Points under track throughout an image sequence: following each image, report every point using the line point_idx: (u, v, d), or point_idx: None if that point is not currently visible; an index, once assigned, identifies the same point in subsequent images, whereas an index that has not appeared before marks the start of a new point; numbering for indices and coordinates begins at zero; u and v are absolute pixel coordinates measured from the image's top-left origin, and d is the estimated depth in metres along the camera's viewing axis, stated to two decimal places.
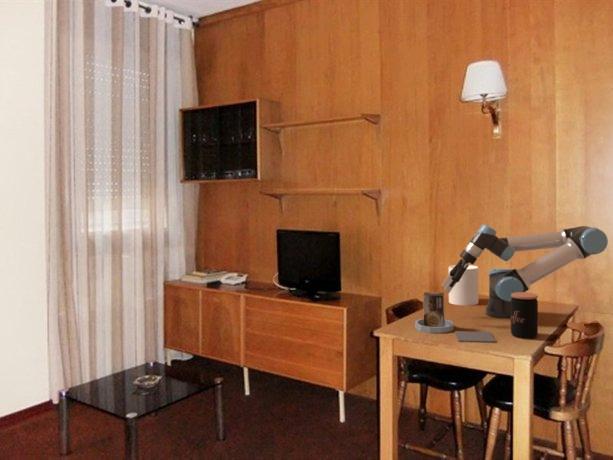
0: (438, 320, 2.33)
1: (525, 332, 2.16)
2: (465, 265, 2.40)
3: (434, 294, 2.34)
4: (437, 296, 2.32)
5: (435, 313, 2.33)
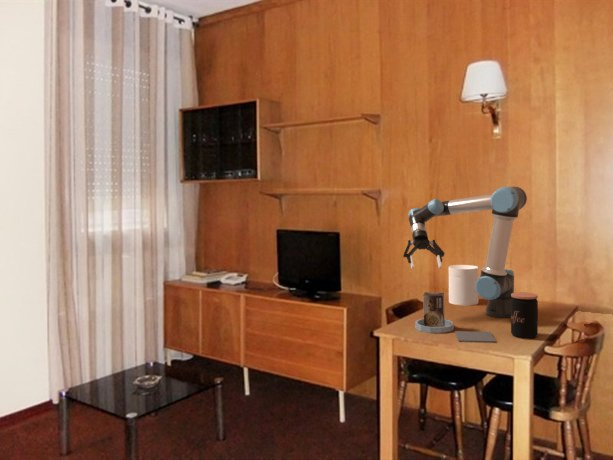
0: (438, 320, 2.33)
1: (525, 332, 2.16)
2: None
3: (434, 294, 2.34)
4: (437, 296, 2.32)
5: (435, 313, 2.33)
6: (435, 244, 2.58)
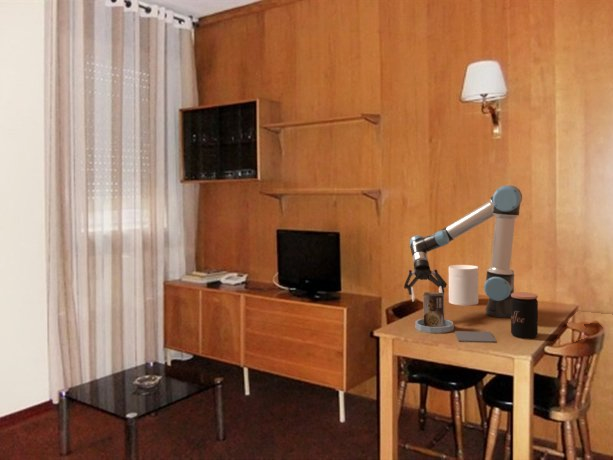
0: (438, 320, 2.33)
1: (525, 332, 2.16)
2: None
3: (434, 294, 2.34)
4: (437, 296, 2.32)
5: (435, 313, 2.33)
6: (437, 274, 2.49)
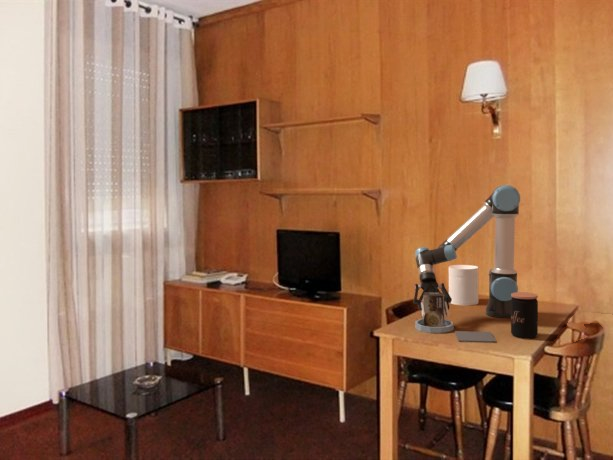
0: (438, 320, 2.33)
1: (525, 332, 2.16)
2: (415, 287, 2.44)
3: (434, 294, 2.34)
4: (437, 296, 2.32)
5: (435, 313, 2.33)
6: (443, 288, 2.42)
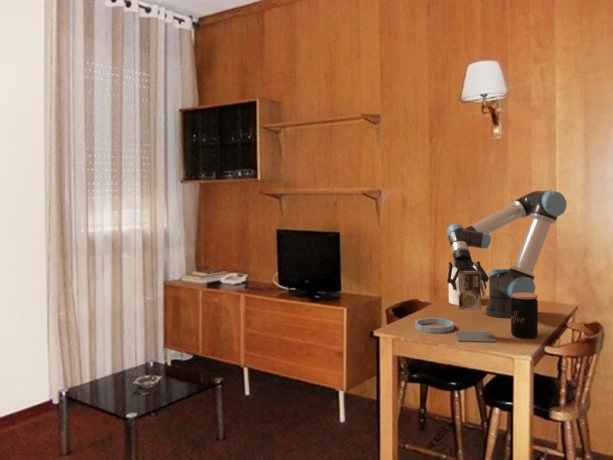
0: (475, 300, 2.17)
1: (525, 332, 2.16)
2: (448, 265, 2.28)
3: (470, 272, 2.18)
4: (473, 274, 2.16)
5: (472, 293, 2.17)
6: (479, 267, 2.25)
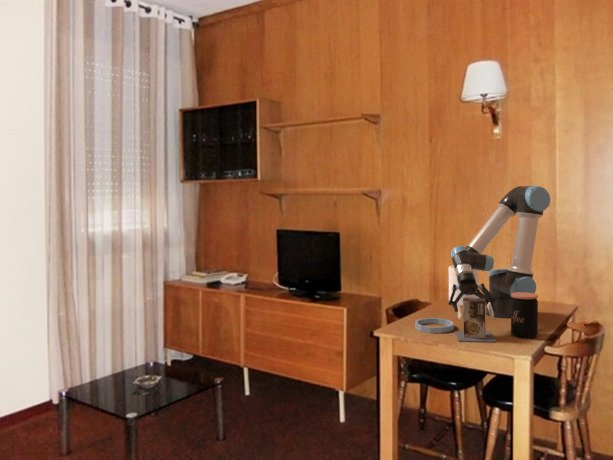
0: (480, 327, 2.16)
1: (525, 332, 2.16)
2: (452, 287, 2.28)
3: (475, 299, 2.18)
4: (478, 302, 2.16)
5: (476, 320, 2.17)
6: (484, 289, 2.25)
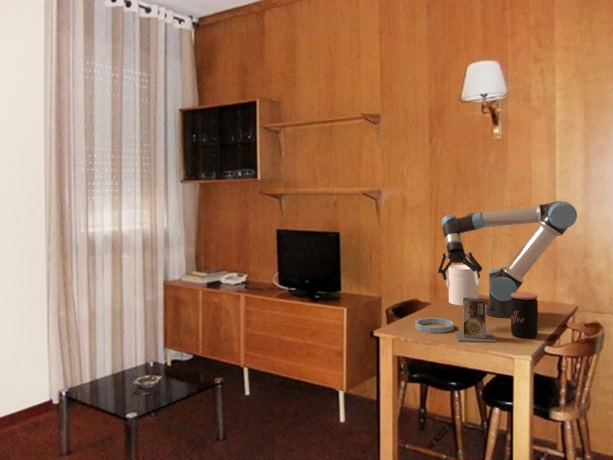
0: (480, 327, 2.16)
1: (525, 332, 2.16)
2: (442, 256, 2.42)
3: (475, 299, 2.18)
4: (478, 302, 2.16)
5: (476, 320, 2.17)
6: (472, 258, 2.40)
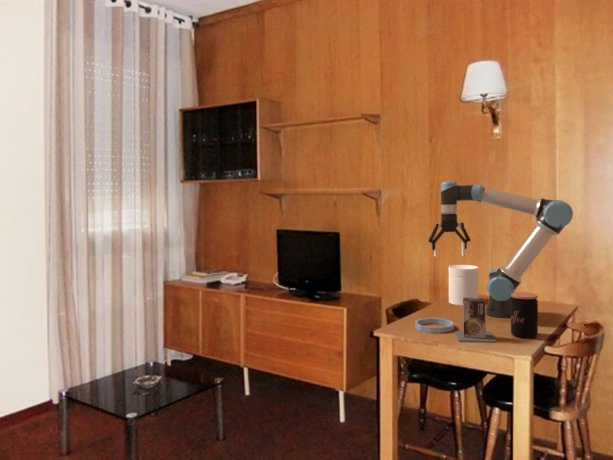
0: (480, 327, 2.16)
1: (525, 332, 2.16)
2: (435, 225, 2.52)
3: (475, 299, 2.18)
4: (478, 302, 2.16)
5: (476, 320, 2.17)
6: (463, 229, 2.51)
